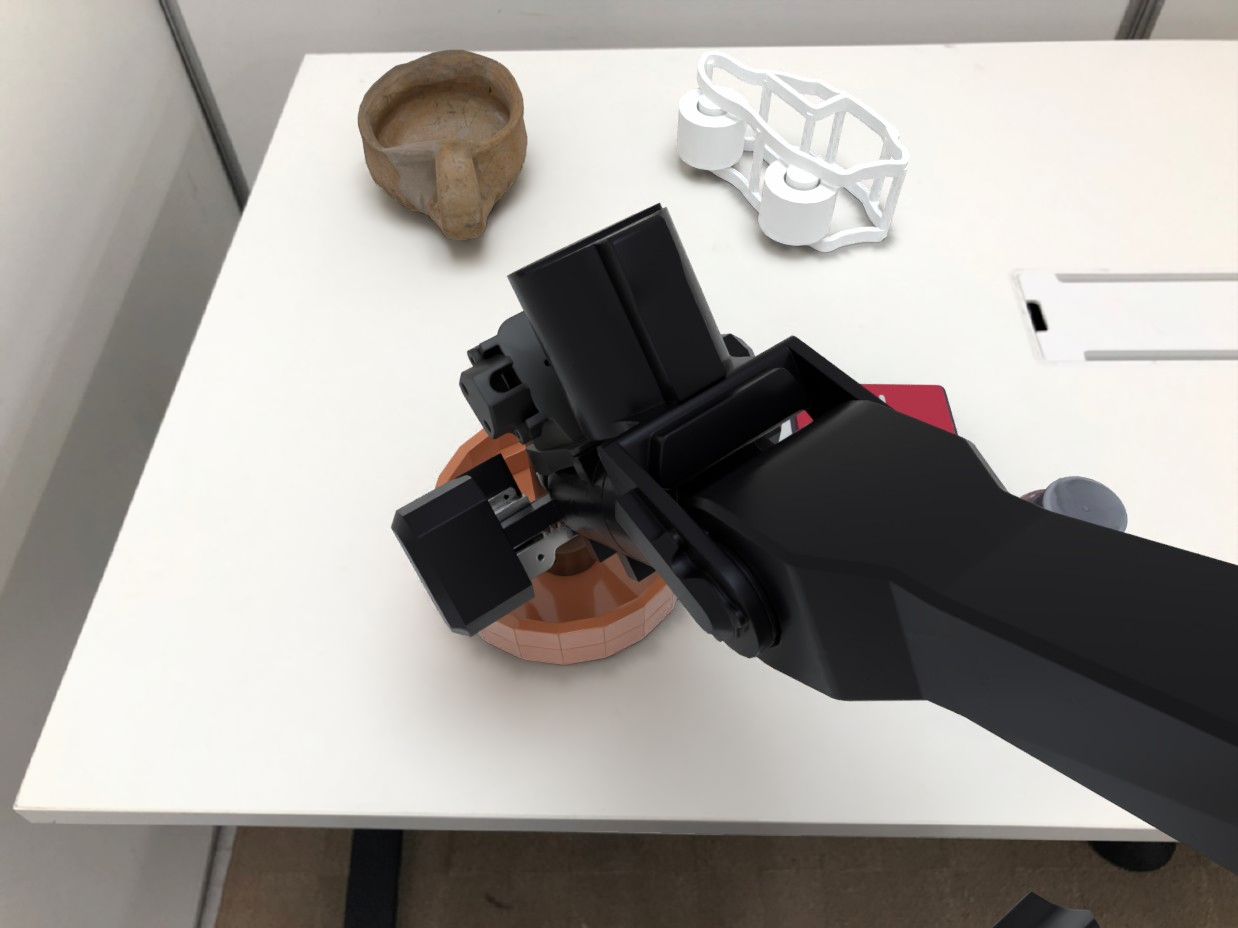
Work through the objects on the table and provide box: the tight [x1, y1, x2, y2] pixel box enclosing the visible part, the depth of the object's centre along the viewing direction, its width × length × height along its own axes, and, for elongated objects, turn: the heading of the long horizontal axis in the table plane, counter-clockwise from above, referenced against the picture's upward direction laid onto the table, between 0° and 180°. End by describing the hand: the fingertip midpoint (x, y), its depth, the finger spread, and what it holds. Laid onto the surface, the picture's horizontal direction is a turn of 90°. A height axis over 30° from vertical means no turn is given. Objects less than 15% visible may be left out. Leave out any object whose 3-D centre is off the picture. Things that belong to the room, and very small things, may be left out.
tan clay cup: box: [357, 49, 528, 241], centre depth 69 cm, size 18×14×10 cm
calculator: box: [779, 383, 959, 442], centre depth 55 cm, size 11×4×15 cm
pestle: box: [525, 441, 596, 576], centre depth 47 cm, size 4×4×15 cm
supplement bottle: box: [1019, 475, 1129, 533], centre depth 47 cm, size 6×6×11 cm
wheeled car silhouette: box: [676, 50, 910, 253], centre depth 70 cm, size 20×11×7 cm, turn 33°
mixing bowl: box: [434, 427, 679, 666], centre depth 52 cm, size 15×15×5 cm
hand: (544, 461), depth 48 cm, fingers open, 5 cm apart
